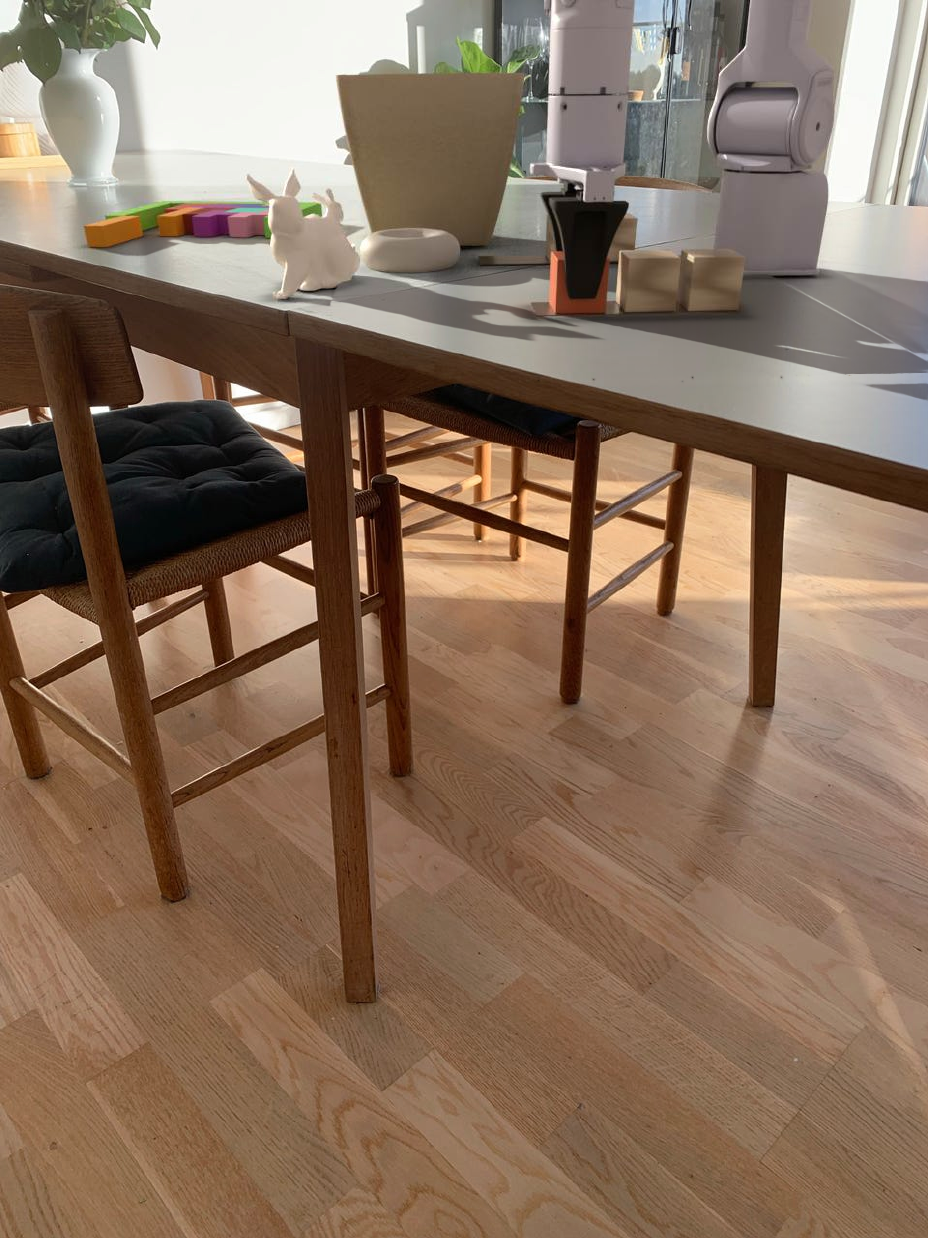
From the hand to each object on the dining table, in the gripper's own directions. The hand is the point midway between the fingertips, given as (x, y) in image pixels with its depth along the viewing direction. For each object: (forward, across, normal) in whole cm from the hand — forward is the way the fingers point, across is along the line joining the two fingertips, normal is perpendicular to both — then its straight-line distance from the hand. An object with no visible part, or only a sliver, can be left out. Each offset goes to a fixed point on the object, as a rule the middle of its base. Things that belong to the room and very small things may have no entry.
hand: (577, 292), depth 73 cm
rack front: (+2, 0, +4) cm, 5 cm away
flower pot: (+2, -40, -12) cm, 41 cm away
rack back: (+2, -24, +2) cm, 24 cm away
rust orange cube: (+1, 0, 0) cm, 1 cm away
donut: (+2, -22, -14) cm, 25 cm away
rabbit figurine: (+2, -14, -23) cm, 27 cm away
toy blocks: (+2, -50, -40) cm, 63 cm away
